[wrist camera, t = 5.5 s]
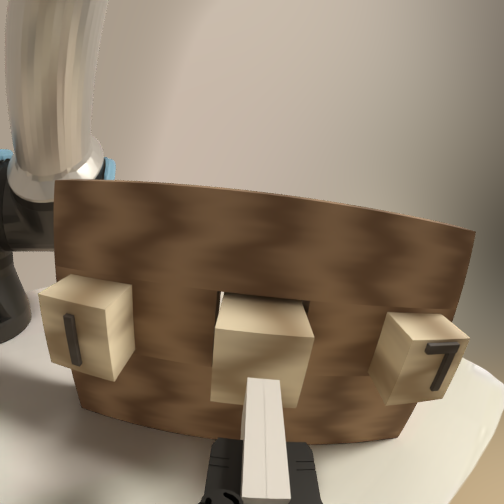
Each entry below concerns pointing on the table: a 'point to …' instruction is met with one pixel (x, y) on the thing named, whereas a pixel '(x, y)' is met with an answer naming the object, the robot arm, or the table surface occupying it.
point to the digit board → (252, 283)
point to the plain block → (260, 346)
